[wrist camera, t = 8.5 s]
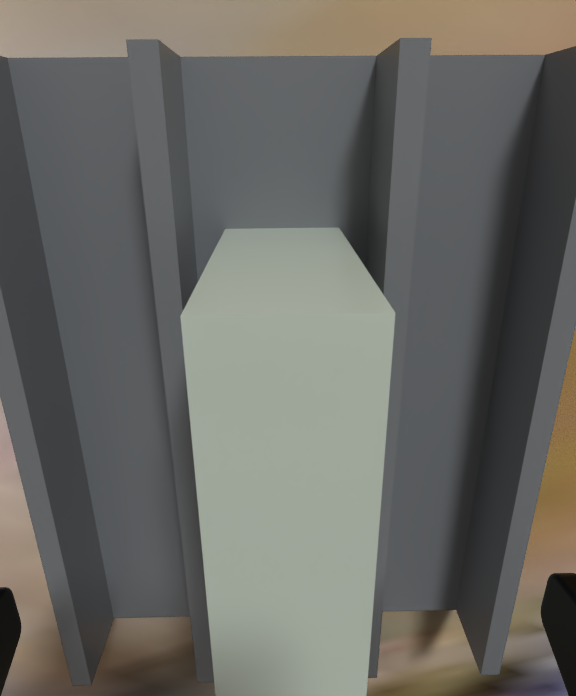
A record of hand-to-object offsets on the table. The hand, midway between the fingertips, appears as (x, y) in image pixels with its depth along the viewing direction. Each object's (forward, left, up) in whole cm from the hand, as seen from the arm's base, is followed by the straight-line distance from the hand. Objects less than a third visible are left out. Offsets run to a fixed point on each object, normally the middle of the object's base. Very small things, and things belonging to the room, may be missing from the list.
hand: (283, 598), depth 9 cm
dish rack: (0, 0, -8) cm, 8 cm away
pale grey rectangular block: (0, 0, -7) cm, 7 cm away
